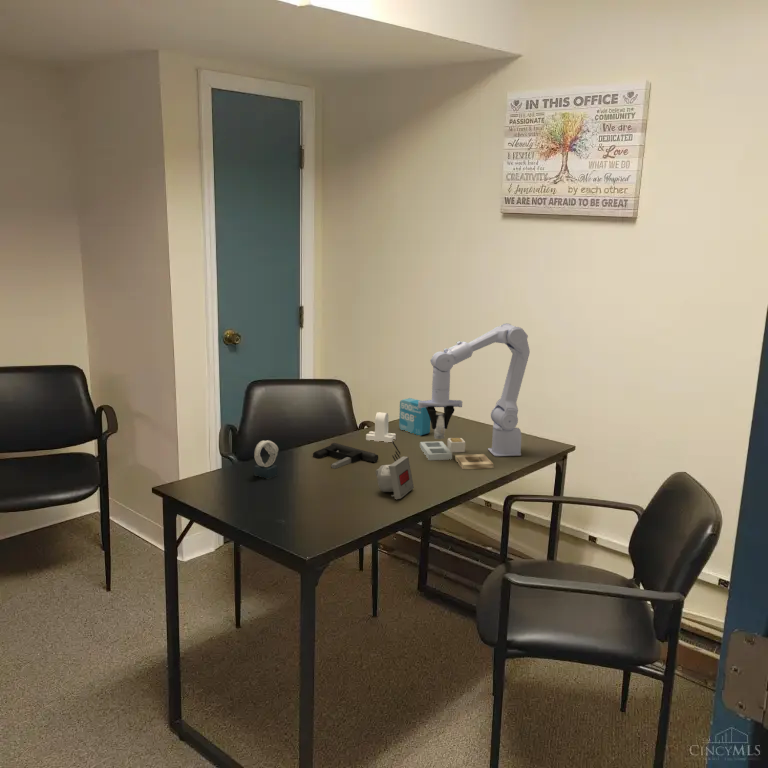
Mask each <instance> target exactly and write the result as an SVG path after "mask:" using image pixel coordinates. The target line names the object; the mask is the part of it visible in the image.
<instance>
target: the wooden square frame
mask: <svg viewBox="0 0 768 768" xmlns="http://www.w3.org/2000/svg"><path fill="white" fill-rule="evenodd" d="M454 460H455V461H456V462H458V463H457V464H458V465H459V466H460V467H461V469H462V470H482V469H494V463H493V462H492V460H490V459H489V458H488V456H486V454H485V453H481V454H480V453H478V454H477V453H475V454H474V453H473V454H455V455H454Z"/></svg>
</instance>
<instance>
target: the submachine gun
mask: <svg viewBox="0 0 768 768" xmlns="http://www.w3.org/2000/svg"><path fill="white" fill-rule="evenodd" d="M312 456H313V458H315V459H322V458H325V457H331V458H333V459H338V460H337V461H335V462H332V463H330V467H331V468H332V469H337V468H340V467H343V466H346V465H349V464H354V463H357V462H360V461H362V460H363V461H367V462H370V463H377V462H378V461H379V455H378V454H376V453H375V452H370V451H367V450H364V449H359V448H356V447H351V446H349V445H344V444H341V443H337V442H332V443H331V444H330V445H328V446H326V447H323V448H320V449H319V450H316V451H314V452H313V453H312Z"/></svg>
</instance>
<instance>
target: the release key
mask: <svg viewBox="0 0 768 768" xmlns="http://www.w3.org/2000/svg"><path fill="white" fill-rule="evenodd" d="M450 438H451V441H452V442H462V440H461V439H460V438H461V437H450Z"/></svg>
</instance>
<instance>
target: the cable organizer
mask: <svg viewBox="0 0 768 768" xmlns="http://www.w3.org/2000/svg"><path fill="white" fill-rule="evenodd" d="M396 436H397V435H396V433H394V432H393V433H391V432H389V413H388V412H379V411H376V415H375V418H374V431H372V430H370V431H369V432H368V433H366V434H365V440H366V441H370V440H374V441H373V442H379V441H384V442H383V443H388V442H392V441H393V442H394V440H393V439H395V440H396V439H397V437H396Z"/></svg>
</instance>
